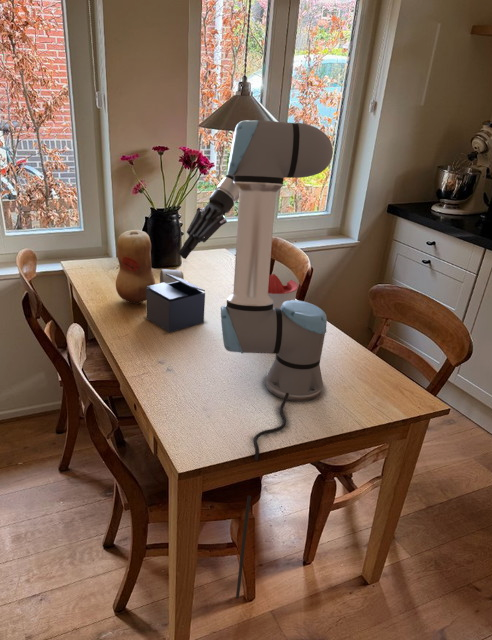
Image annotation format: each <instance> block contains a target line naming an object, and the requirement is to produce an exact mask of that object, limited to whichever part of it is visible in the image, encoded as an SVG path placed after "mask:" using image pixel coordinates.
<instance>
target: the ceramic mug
mask: <svg viewBox="0 0 492 640" xmlns="http://www.w3.org/2000/svg"><path fill="white" fill-rule="evenodd" d="M159 271H160V272H159V283H163V282H164V283H166V284H169V283H173V282H177V280H175V279H173V278H171V277H169V276H167V275H166V274H169V275H172V276H175V277H179V278H182V279H184V280H185V278H184V272H183V271H182V270H179V269H167V268H165V269H164V268H161V269H160V270H159Z"/></svg>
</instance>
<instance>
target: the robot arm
mask: <svg viewBox="0 0 492 640" xmlns="http://www.w3.org/2000/svg"><path fill="white" fill-rule="evenodd" d="M232 136H233V137H232V142H231V146H230V152H229V157H228V165H227V173H226V175H225V176H224V177H223V178H222V179H221V181H220V182H219V183H218V185H217V186H216V189H214V191H213V192H212V194H211V195H210V196H209V201H208V203H207V204H206V205H205V206H204V207H203V208H201V207H197V208H196V210H195V211H196V212H195V214H194V216H193V218H192V220H191V223H190V224H189V226H188V228H187V230H186V234H187V236H188V237H187V239H186V240H185V242H184V243H183V245H182V247H181V248H180V249H179V251H178V252H177V254H178V255H179V256H180V257H181V258H182V259H184V260H186V259H187V258H188V257H189V255H190V254H191V253H192V251H194V250H195V248H196V247H197V246H198V244H199V243H206V242H207V241H208V240H209V239H210V238H211V237H212V236H213V235H214V234H215V233H216V232H217V231H218V230H219V229H220V228H221V227H223V226H224V225H225V224H227V222H228V221H227V219H226V218H225V215H226V214H228V213H229V212H230V211H231V210H232V209H233V207H234V205H235V203H237V202H238V209H237V225H236V239H235V240H236V242H235V258H234V276H233V292H232V293H231V294H230V295H229V296H228V297H227V299H226V304H224V305H221V306H220V320H221V333H222V341H223V348H224V350H226V351H227V352H231V353H241V354H267V355H268V354H273V355H275V359H274V360H273V362H272V364H271V366H270V368H269V369H268V372H267V374H266V376H265V387H266V389H267V391H269V393H271V394H273V395H274V396H276V397H278V398H280V399H282V402H281V404H280V406H279V414H280V417H281V419H282V424H281V425H280V426H278V427H274V428H270V429H265V430H262V431H260V432H258V433H257V434H256V435H254V437H253V439H252V440H253V441H252V442H253V446H254V461H256V462H257V461H259V457H260V448H259V444H258V439H259V438H260V437H262V436H263V435H266V434H272V433H277V432H279V431H281V430H283V429H284V428H285V427H286V425H287V418H286V415H285V413H284V407H285V404H286V403H287V401H290V402H291V401H292V402H309V401H312V400H315V399H317V398H318V397H320V396H321V395H322V393H323V388H324V381H323V380H324V379H323V375H322V370H321V359H322V353H323V348H324V343H325V342H324V341H325V337H326V333H327V323H328V318H327V314H326V312H325V311H324V310H323V309H321V308H320V307H319V306H317V305H316V304H312V303H310V302H307V301H303V300H299V299H295V300H289V301H285V302H284V303H283V304H282V306H281V308H273V300H272V299H271V298H270V297H269V296H268V286H269V275H270V271H271V260H272V259H271V258H272V247H273V246H272V245H273V232H274V221H275V207H276V195H277V192H279V190H281V189H282V188H283V186H284V179H285V178H288V179H293V178H294V179H301V178H309V177H312V176H317V175H319V174H321V173H322V172H324V171H325V170H326V169H327V168H328V167H329V166H330V163H331V161H332V159H333V153H334V152H333V151H334V148H333V144H332V141H331V139H330V138H329V136H328V135H327V134H326V133H325V132H324V131H322V130H321V129H319V128H318V127H316V126H314V125H311V124H308V123H303V122H287V121H286V122H285V121H275V120H273V121H272V120H262V119H255V120H241V121H239V122H238V123H237V124H236V125H235V128H234V131H233V135H232ZM251 500H252V495H247V497H246V505H245V513H244V520H243V530H242V539H241V546H240V547H241V548H240V556H239V565H238V576H237V583H236V584H237V586H236V593H235V599H236V600H238V599H239V598H240V592H241V585H242V584H241V583H242V576H243V567H244V566H243V565H244V557H245V549H246V540H247V532H248V531H247V530H248V524H249V515H250V507H251Z"/></svg>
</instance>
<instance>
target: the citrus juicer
mask: <svg viewBox="0 0 492 640" xmlns="http://www.w3.org/2000/svg"><path fill="white" fill-rule="evenodd" d="M298 287H299V286H298V284H297V282H296V281H294V280H293V279H290V280H289V281H287V283H286V285H285V284H283V282H282V281H281V279H280V278H279V277H278V276H277V275H276V274H275V273H272V274H269V286H268V296H269V297H270V298H271V299H272V300H273V308H281V306H282V304H283V303H284V302H285V301H289V300H296V296H297V291H298Z"/></svg>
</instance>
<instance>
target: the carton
mask: <svg viewBox="0 0 492 640" xmlns="http://www.w3.org/2000/svg"><path fill="white" fill-rule="evenodd" d="M145 302H146V305H145V306H146V320H148V321H149V322H152V323H153V324H155V325H156V326H158V327H160V328H161V329H163V330H164V331H166V332H168V333H170V334H171V333H173V332H176V331H180V330H183V329H186V328H190V327H194V326H196V325H197V326H198V325H200V324H204V323H205V306H206V305H205V303H206V292H205V291H201V290H198V289H194V288H191V287H188V286H187V285H185V284H183V283H181V282H179V281H177V282H173V283H169V284H166V283H164V282H163V283H160V282H159V283H155V284H154V285H150V286H147V289H146V300H145Z"/></svg>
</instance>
